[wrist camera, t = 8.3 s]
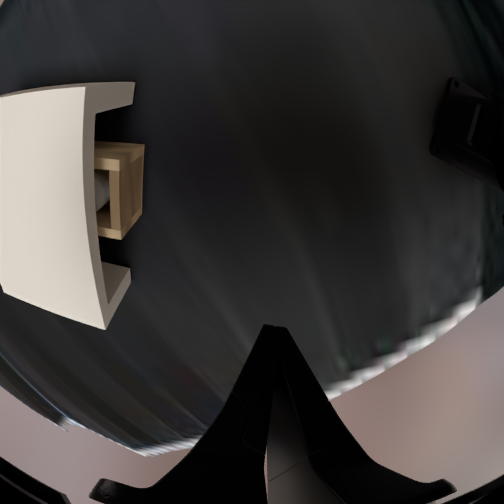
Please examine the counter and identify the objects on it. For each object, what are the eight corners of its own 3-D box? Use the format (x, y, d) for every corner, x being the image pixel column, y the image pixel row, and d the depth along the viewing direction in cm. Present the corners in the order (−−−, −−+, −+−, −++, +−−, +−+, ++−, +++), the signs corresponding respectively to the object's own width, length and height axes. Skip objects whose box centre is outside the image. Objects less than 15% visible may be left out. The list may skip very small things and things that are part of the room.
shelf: (135, 82, 15) (85, 86, 10) (131, 281, 24) (105, 329, 19) (18, 91, 14) (-33, 105, 9) (35, 256, 24) (4, 292, 19)
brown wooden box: (144, 144, 18) (119, 159, 15) (142, 213, 21) (121, 240, 18) (42, 139, 17) (11, 154, 14) (47, 198, 20) (20, 219, 17)
